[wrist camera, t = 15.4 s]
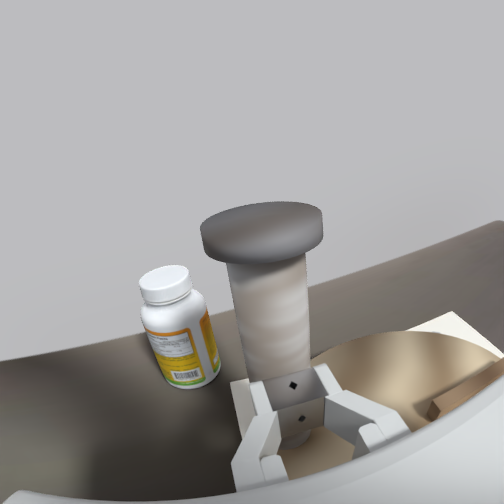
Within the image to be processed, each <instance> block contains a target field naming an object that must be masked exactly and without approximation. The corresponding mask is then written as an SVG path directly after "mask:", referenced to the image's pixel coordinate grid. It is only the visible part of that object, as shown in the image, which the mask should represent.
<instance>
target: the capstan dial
mask: <svg viewBox="0 0 504 504" xmlns="http://www.w3.org/2000/svg"><path fill="white" fill-rule="evenodd" d="M200 231H201V236H202V241H203V246H204V250H205V253H206V254H207V255H208V256H209V257H211V258H213V259H215V260H217V261H221V262H225V263H226V265H227V271H228V276H229V281H230V287H231V292H232V298H233V303H234V308H235V313H236V318H237V323H238V329H239V334H240V339H241V344H242V349H243V354H244V359H245V363H246V368H247V373H248V378H249V383H252V382H257V381H262V380H265V379H270V378H274V377H279V376H283V375H287V374H290V373H293V372H297V371H300V370H304V369H307V368H310V367H314V366H317V365H320V364H323V363H325V364H327V366H328V367H329V369H330V371H331V372H332V374H333V376H334V377H335V379H336V381H337V382H338V384H339V385H340V387H341V389H342V390H343V391H344V390H348V391H350V392H353V393H355V394H357V395H359V396H362V397H364V398H366V399H369V400H371V401H373V402H376V403H378V404H381V405H383V406H385V407H388V408H390V409H393V410H395V411H397V413H398V414H399V415H400V417H401V418H402V420H403V421H404V422H405V424H406V425H407V427H408V428H409V429H410V431H411V432H412V433H413V432H415V431H417V430H419V429H420V428H422V427H424V426H426V425H428V424H429V423H431V422H433V421H435V420H437V419H438V418H440V417H442V416H443V415H445V414H447V413H448V412H450V411H452V410H453V409H455V408H456V407H458V406H459V405H461V404H463V403H464V402H466V401H467V400H469V399H470V398H472V397H473V396H474V395H476V394H477V393H479V392H480V391H482V390H483V389H484V388H486V387H487V386H489V385H490V384H491V383H493V382H494V381H495V380H497V379H498V378H499V377H500V376H502V375H503V374H504V357H503V358H502V359H501V358H499V357H498V356H496V355H495V354H493V353H492V352H490V351H488V350H486V349H485V348H483V347H481V346H479V345H476V344H474V343H472V342H469V341H467V340H463V339H460V338H457V337H454V336H449V335H445V334H440V333H433V332H424V331H395V332H385V333H379V334H373V335H368V336H365V337H361V338H357V339H354V340H351V341H348V342H345V343H342V344H340V345H338V346H335V347H333V348H331V349H329V350H327V351H325V352H323V353H322V354H320V355H318V356H316V357H315V358H313V359H312V360H310V332H309V308H308V289H307V272H306V257H305V253H306V252H308V251H310V250H311V249H313V248H315V247H316V246H317V245H318V244H319V243H320V242H321V240H322V239H323V223H322V212H321V210H320V209H318V208H317V207H315V206H312V205H309V204H304V203H299V202H265V203H256V204H250V205H244V206H240V207H236V208H232V209H229V210H226V211H223V212H220V213H218V214H215V215H213V216H211V217H209V218H208V219H206V220H205V221H204V222H203V223H202V224H201V226H200ZM354 449H355V446H354V445H352V444H351V443H349V442H347V441H346V440H344V439H343V438H341V437H339V436H338V435H336V434H335V433H333V432H332V431H330V430H328V429H327V428H325V427H324V426H321V427H317V428H314V429H311V430H307V431H303V432H300V433H297V434H294V435H290V436H287V437H284V438H281V442H280V445H279V448H278V451H277V454H276V455H279V456H281V459H282V462H283V464H284V467H285V470H286V473H287V476H288V478H289V481H290V480H294V479H297V478H301V477H304V476H307V475H311V474H314V473H317V472H320V471H323V470H326V469H329V468H332V467H335V466H337V465H340V464H343V463H346V462H348V461H351V460H352V457H353V453H354Z"/></svg>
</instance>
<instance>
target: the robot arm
mask: <svg viewBox="0 0 504 504" xmlns="http://www.w3.org/2000/svg"><path fill="white" fill-rule="evenodd" d="M249 389H250V394H251V398H252V403H253V407H254V411H255V415H256V416H254V417H253V419H252V421H251V423H250V425H249V427H248V429H247V431H246V433H245V436H244V438H243V440H242V442H241V444H240V446H239V448H238V450H237V452H236V454H235V456H234V458H233V460H232V462H231V466H232V471H233V477H234V481H235V486H236V491H237V493H231V494H225V495H218V496H211V497H203V498H194V499H184V500H170V501H145V502H125V501H101V500H88V499H77V498H69V497H61V496H55V495H48V494H43V493H38V492H33V491H28V490H19V491H17V492H15V493H14V494H13V495H11V496H10V497H9V498H8V499H7V500H5V501H4V502H3V503H2V504H504V374H503V375H502V376H500V377H499V378H498V379H497V380H495V381H494V382H493V383H491V384H490V385H489V386H487V387H486V388H484V389H483V390H482V391H480V392H479V393H477V394H476V395H474V396H473V397H472V398H470V399H469V400H467V401H466V402H464V403H463V404H461V405H459V406H458V407H456V408H455V409H453V410H452V411H450V412H448V413H447V414H445V415H443V416H442V417H440V418H438V419H437V420H435V421H433V422H431V423H429V424H428V425H426V426H424V427H422V428H420V429H419V430H417V431H415V432H413V433H412V432H411V431H410V429H409V428H408V427H407V425H406V424H405V422H404V421H403V420H402V418H401V417H400V415H399V414H398V413H397V411H395V410H393V409H390V408H388V407H385V406H383V405H381V404H378V403H376V402H373V401H371V400H369V399H366V398H364V397H362V396H359V395H357V394H355V393H353V392H350V391H348V390H344V391H343V390H342V389H341V387H340V385H339V384H338V382H337V381H336V379H335V377H334V376H333V374H332V372H331V371H330V369H329V367H328V366H327V364H325V363H323V364H320V365H317V366H314V367H310V368H307V369H304V370H300V371H297V372H293V373H290V374H287V375H283V376H279V377H274V378H270V379H265V380H262V381H257V382H252V383H249ZM321 426H324V427H325V428H327V429H328V430H330V431H332V432H333V433H335V434H336V435H338V436H339V437H341V438H343V439H344V440H346V441H347V442H349V443H351V444H352V445H354V446H355V449H354V453H353V457H352V460H351V461H348V462H346V463H343V464H340V465H337V466H335V467H332V468H329V469H326V470H323V471H320V472H317V473H314V474H311V475H307V476H304V477H301V478H297V479H294V480H290V481H289V478H288V476H287V473H286V470H285V467H284V464H283V462H282V459H281V456H279V455H276V454H277V451H278V448H279V445H280V442H281V438H284V437H287V436H290V435H294V434H297V433H300V432H303V431H307V430H311V429H314V428H317V427H321Z"/></svg>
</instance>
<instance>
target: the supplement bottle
mask: <svg viewBox="0 0 504 504" xmlns="http://www.w3.org/2000/svg"><path fill="white" fill-rule="evenodd" d="M139 287H140V290H141V294H142V297H143V299H144V301H145V303H144V304H143V306H142V308H141V319H142V323H143V325H144V328H145V331H146V333H147V336H148V338H149V341H150V343H151V346H152V348H153V351H154V353H155V356H156V358H157V361H158V363H159V365H160V368H161V370H162V373H163V375H164V377H165V379H166V380H167V381H168V382H169V383H170V384H171V385H172V386H174V387H177V388H181V389H194V388H199V387H202V386H204V385H206V384H208V383H209V382H211V381H212V380H213V379H214V378H215V377H216V376H217V374H218V372H219V370H220V366H221V362H220V357H219V354H218V350H217V346H216V342H215V339H214V335H213V331H212V327H211V323H210V319H209V315H208V311H207V307H206V303H205V300H204V298H203V296H202V295H201V294H200V293H199V292H198V291H196V290H194V289H192V281H191V278H190V274H189V271H188V269H187V268H186V267H184V266H180V265H170V266H164V267H160V268H157V269H154V270H152V271H150V272H148V273H147V274H145V275H144V276H143V277H142V278H141V279H140V281H139Z"/></svg>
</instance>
